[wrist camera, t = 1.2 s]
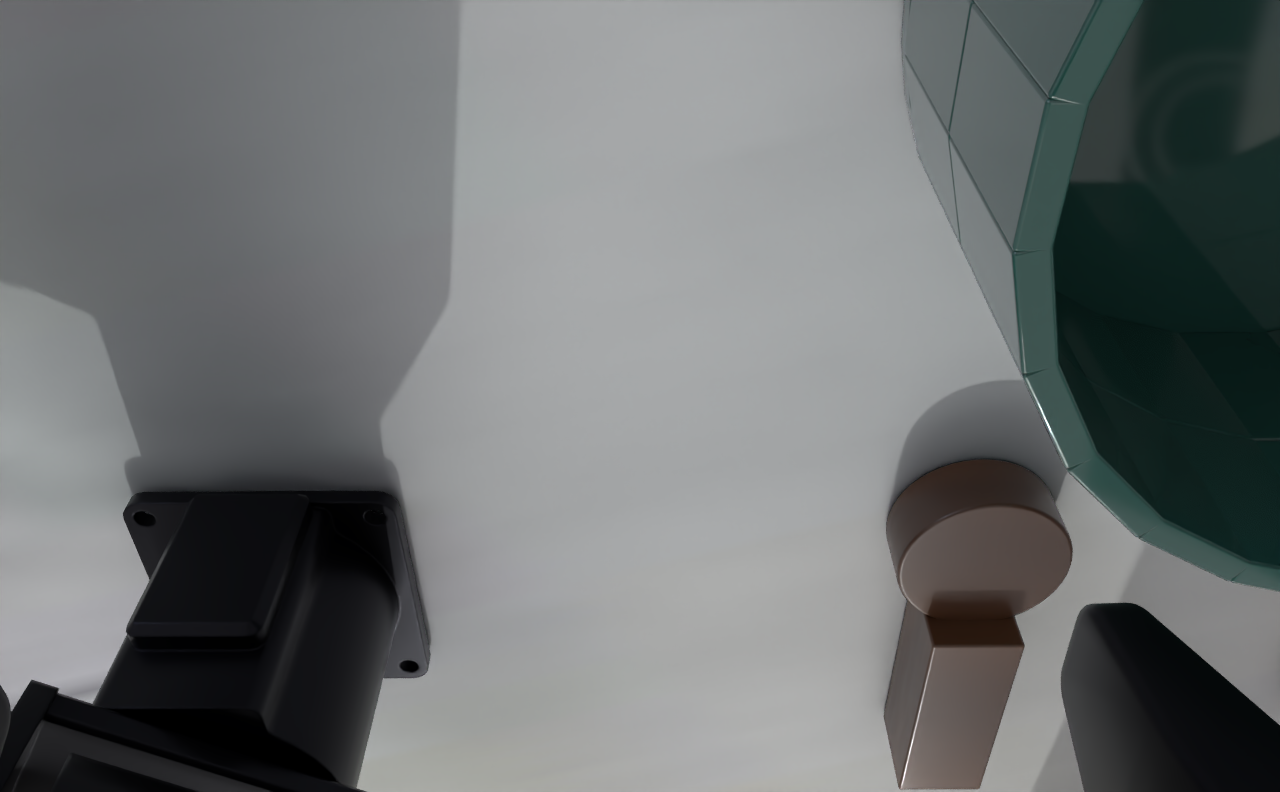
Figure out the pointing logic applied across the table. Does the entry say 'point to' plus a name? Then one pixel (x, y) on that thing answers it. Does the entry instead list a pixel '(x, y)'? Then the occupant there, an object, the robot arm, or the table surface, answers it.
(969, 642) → the walnut spoon
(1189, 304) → the dark green bowl
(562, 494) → the table surface
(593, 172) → the table surface
